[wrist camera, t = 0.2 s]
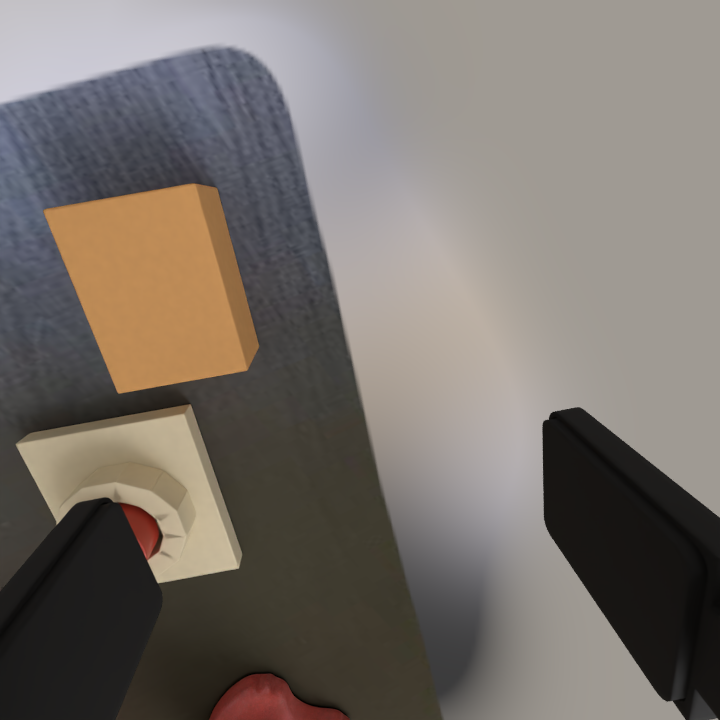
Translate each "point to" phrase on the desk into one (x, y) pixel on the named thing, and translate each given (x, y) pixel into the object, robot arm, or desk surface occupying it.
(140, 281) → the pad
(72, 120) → the desk surface
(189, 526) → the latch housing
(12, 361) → the desk surface
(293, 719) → the stacking bear
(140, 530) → the button
